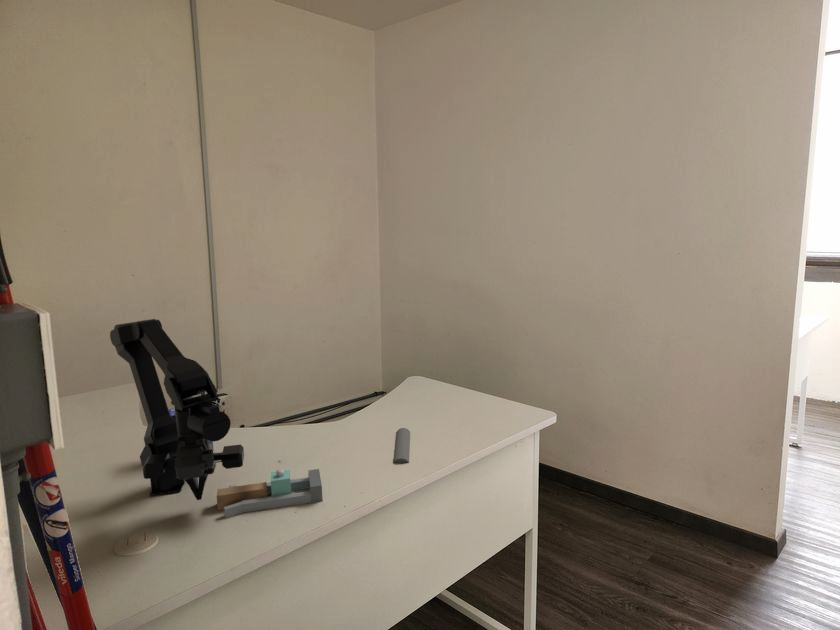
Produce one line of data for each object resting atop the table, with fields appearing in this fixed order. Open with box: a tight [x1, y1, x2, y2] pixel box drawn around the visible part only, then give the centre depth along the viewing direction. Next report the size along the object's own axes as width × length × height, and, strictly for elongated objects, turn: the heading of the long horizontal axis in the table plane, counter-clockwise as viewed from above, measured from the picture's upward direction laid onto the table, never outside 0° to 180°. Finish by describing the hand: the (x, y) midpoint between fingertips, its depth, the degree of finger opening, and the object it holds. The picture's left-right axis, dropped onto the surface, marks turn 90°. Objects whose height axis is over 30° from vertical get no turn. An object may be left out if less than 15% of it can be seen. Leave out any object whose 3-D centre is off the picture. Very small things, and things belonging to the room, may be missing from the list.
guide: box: [223, 468, 323, 519], centre depth 117 cm, size 20×10×4 cm, turn 105°
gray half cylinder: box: [392, 427, 411, 464], centre depth 142 cm, size 4×20×2 cm, turn 0°
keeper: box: [270, 469, 292, 497], centre depth 117 cm, size 4×4×6 cm
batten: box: [216, 481, 269, 511], centre depth 115 cm, size 10×3×4 cm, turn 106°
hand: (199, 499), depth 113 cm, fingers closed
